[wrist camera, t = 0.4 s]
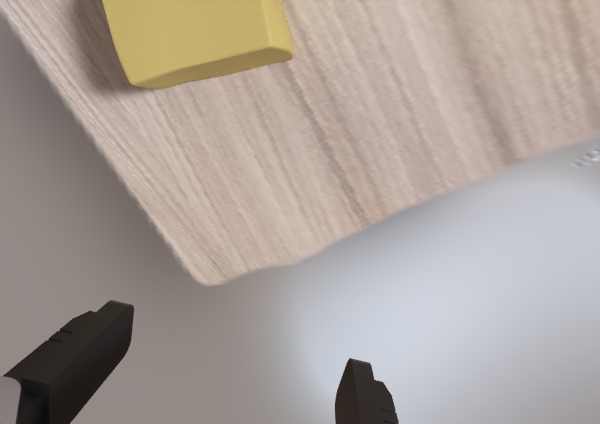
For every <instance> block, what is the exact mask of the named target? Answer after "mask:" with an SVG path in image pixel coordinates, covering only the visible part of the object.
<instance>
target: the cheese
mask: <svg viewBox="0 0 600 424" xmlns="http://www.w3.org/2000/svg"><path fill="white" fill-rule="evenodd" d="M102 3H103V7H104V10H105V14H106V17H107V21H108V25H109V28H110V32H111V36H112V39H113V43H114V46H115V49H116V52H117V55H118V58H119V61H120V63H121V66H122V68H123V70H124V73H125V75H126V77H127V79H128V81H129V83H130V84H131V85H134V86H138V87H142V88H150V89H162V88H168V87H172V86H175V85H179V84H182V83H186V82H190V81H198V80H203V79H208V78H213V77H218V76H224V75H228V74H232V73H237V72H241V71H245V70H249V69H253V68H257V67H261V66H265V65H269V64H273V63H278V62H283V61H287V60H291V59H293V56H294V48H293V41H292V36H291V32H290V28H289V25H288V22H287V19H286V16H285V13H284V10H283V7H282V2H281V0H102Z"/></svg>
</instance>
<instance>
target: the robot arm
mask: <svg viewBox="0 0 600 424" xmlns="http://www.w3.org/2000/svg"><path fill="white" fill-rule="evenodd" d="M133 315H134V307H133V306H132V305H130V304H126V303H122V302H117V301H113V300H111V301H109V302H107V303H106V304H105V305H104V306H103V307H102V308H101V309H99V310H98V311H97V312H92V311H89V312H87V313H84V314H82V315H80V316H78V317H76V318H73V319H72V320H71V321H69V323H67V324H66V325H65V326H63V327H62V328H61V329H60V331H59V332H58V331H57V332H56V333H55V334H54V335H52V336H51V337H50V338H49V340H48V341H47V340H46V341H45V342H44V343H43V344H41V345H40V346H39V347H38V348H37V349H35V350H34V351H33V352H32V353H31V354H29V355H28V356H27V357H26V358H24V359H23V360H22V361H21V362H19V363H18V364H17V365H16V366H14V367H13V368H12V369H11V370H10V371H9V372H7V373H6V374H5V375H3V376H2V377H0V424H70V423H71V421H72V420H73V419H74V418H75V417H76V415H77V414H78V413H79V412H80V410H81V409H82V408H83V407H84V405H85V404H86V403H87V402H88V401H89V399H90V398H91V397H92V396H93V394H94V393H95V392H96V391H97V390H98V388H99V387H100V386H101V385H102V383H103V382H104V381H105V380H106V378H107V377H108V376H109V375H110V374H111V372H112V371H113V370H114V369H115V367H116V366H117V365H118V364H119V363H120V361H121V360H122V359H123V357H124V356H125V354H126V352H127V351H128V348H129V346H130V342H131V336H132V326H133V325H132V324H133ZM335 419H336V424H398V423H399V422H398V419H397V415H396V413H395V406H394V403H393V399H392V396H391V394H390V392H389V391H388V389H387V388H386V386H385V385H384V383H383V382H380V381H376V380H374V377H373V372H372V367H371V364H370V363H367V362H363V361H359V360H355V359H351V358H350V359H349V360H348V362H347V364H346V367H345V370H344V373H343V376H342V379H341V381H340V384H339V388H338V390H337V394H336V401H335Z"/></svg>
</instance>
